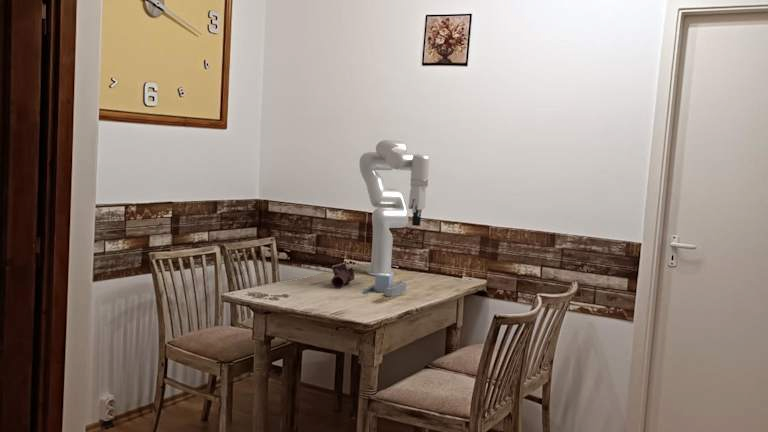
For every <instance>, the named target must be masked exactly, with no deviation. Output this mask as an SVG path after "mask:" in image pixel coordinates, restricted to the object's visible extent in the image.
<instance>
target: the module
mask: <svg viewBox="0 0 768 432" xmlns="http://www.w3.org/2000/svg"><path fill="white" fill-rule="evenodd" d="M393 281H394V275H390V274H382V273H379V274H377V275H376V276H375V283H374V285H375V290H374V292H376V291H378V293H384V292H385V290H386V288H388V287H390V286H392V285H394V284H393V283H394V282H393Z"/></svg>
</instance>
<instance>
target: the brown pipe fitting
mask: <svg viewBox="0 0 768 432" xmlns="http://www.w3.org/2000/svg"><path fill="white" fill-rule="evenodd" d="M331 268H332V269H331V270H332V271H333V272H332V273H333V277H332V279H331V286H333V288H335V289H341V288H343V287H344V286H345V285H349V284H350V283H351V281H354V280H355V271H354V268H353V267H352V266H350V267H348V266H347V265H346V262H342V263H339V264H335V265H332V266H331Z"/></svg>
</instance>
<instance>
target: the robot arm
mask: <svg viewBox="0 0 768 432" xmlns="http://www.w3.org/2000/svg"><path fill="white" fill-rule="evenodd" d="M407 151H408V149H407V145H406V144H405V142H403V141H400V140H391V139H390V140H389V139H385V140H384V139H383V140H380V141H379V142H378V143H377V144H376V146H375V151H373V152H372V151H370V152H364V153H363V154H362V155H361V156H360V158H359V162H358V163H359V172H360V174H361V176H362V178H363V180H364V184H365V186H366V188H367V194H368V197H369V201H370V204H371V205H372V206H373V207H374V208H375V209H374V210H373V212H372V214H371V223H372V224H371V225H372V243H371V244H372V246H371V247H372V249H371V258H370V261H371V263H369V264H368V263H363V264H362V268H363V269H368V270H367V272H366V273H367V274H368V275H370V276H375V277H376V275H377V274H379V273H382V274H390V275H393V276H394V275H395V272H394V271H393V270H392V258H393V257H392V255H393V241H394V239H393V238H394V237H393V235H392V232H391V231H390V229H401V228H405V227H407V225H408V223H409V214H408V210H407V209H409V210H411V212H412V221H411V225H412V226H415V227H416V226H417V227H420V226H421V218H422V217H421V216H422V211H423V209H425V206H426V196H427V195H426V193H427V188H428V184H429V182H428V181H429V168H430V157H429V155H426V154H424V155H423V154H419V153H408V152H407ZM392 170H396V171H409V172H410V181H409V182H410V183H409V187H410V191H409V197H408V206H407V205H406V202H405V200H404V196H403V193H402V191H400V190H399V189H397V188H393V187H392V188H390V187H389V188H388V187H387V186H386V185H385V182H384V179H383V177H382V175H380V174H379V173H378V172H377V171H392ZM407 207H408V208H407Z"/></svg>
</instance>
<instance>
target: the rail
mask: <svg viewBox="0 0 768 432" xmlns="http://www.w3.org/2000/svg"><path fill="white" fill-rule="evenodd" d="M406 290H407V282H405V281H399V282H396V283H394V284H393V285H392V286H390V287H388V288H386V290H385V294H384V296H385V297H391V298H392V297H394V296H396V295H398V294H401V293H402V292H404V291H406ZM374 291H375V284H373V285H371V286H368V287H365V288H363V294H369V293H371V292H374Z"/></svg>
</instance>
